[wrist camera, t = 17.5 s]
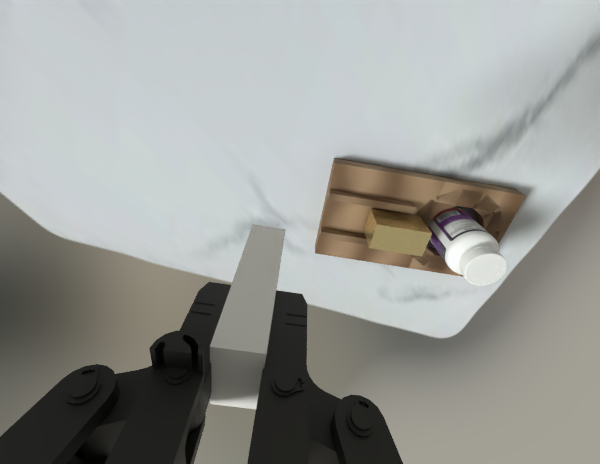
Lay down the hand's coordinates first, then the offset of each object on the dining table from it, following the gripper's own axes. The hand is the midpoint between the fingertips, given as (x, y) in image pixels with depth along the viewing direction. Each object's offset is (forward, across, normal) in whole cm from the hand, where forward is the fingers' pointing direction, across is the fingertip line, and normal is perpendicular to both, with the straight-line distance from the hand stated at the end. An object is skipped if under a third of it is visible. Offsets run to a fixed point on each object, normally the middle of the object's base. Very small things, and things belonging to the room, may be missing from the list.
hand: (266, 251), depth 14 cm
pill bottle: (+22, +21, -7) cm, 31 cm away
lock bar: (+20, +13, -7) cm, 25 cm away
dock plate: (+22, +16, -7) cm, 28 cm away
